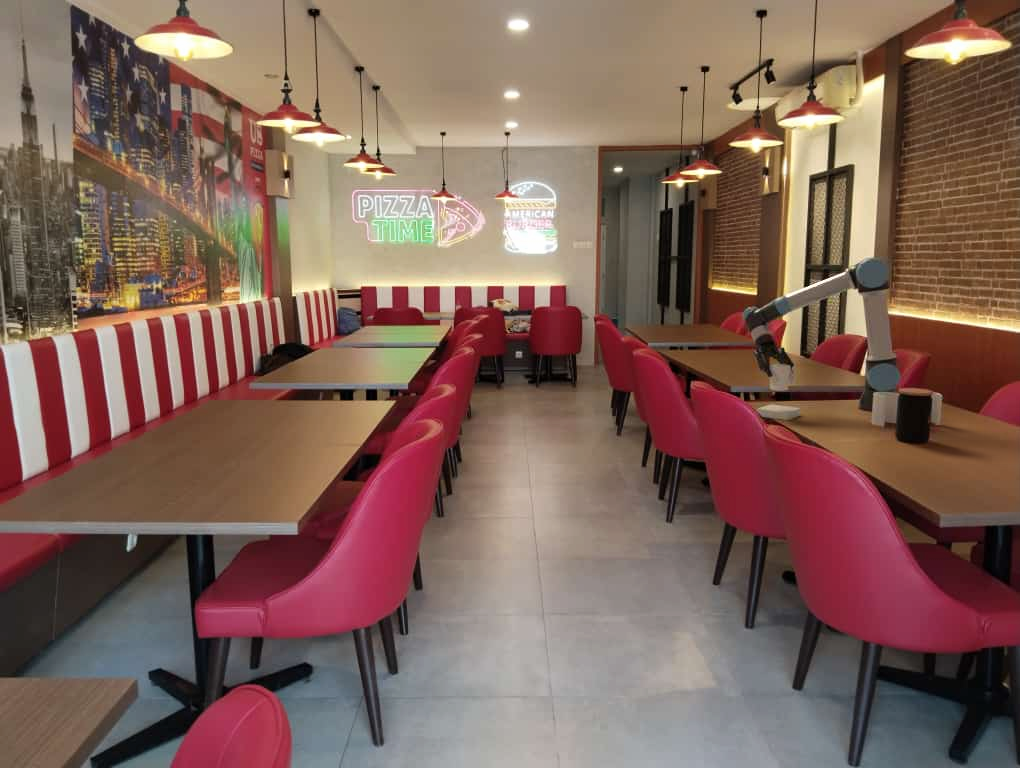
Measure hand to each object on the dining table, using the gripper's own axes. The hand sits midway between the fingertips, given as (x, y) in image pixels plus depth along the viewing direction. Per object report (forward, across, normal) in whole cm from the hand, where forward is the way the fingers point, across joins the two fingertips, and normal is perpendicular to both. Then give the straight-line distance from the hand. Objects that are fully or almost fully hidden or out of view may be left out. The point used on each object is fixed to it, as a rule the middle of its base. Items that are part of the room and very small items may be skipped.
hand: (784, 382), depth 302 cm
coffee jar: (+44, -18, +24) cm, 53 cm away
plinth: (+8, 0, -12) cm, 15 cm away
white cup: (0, 0, -5) cm, 5 cm away
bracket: (+28, -37, +8) cm, 47 cm away
